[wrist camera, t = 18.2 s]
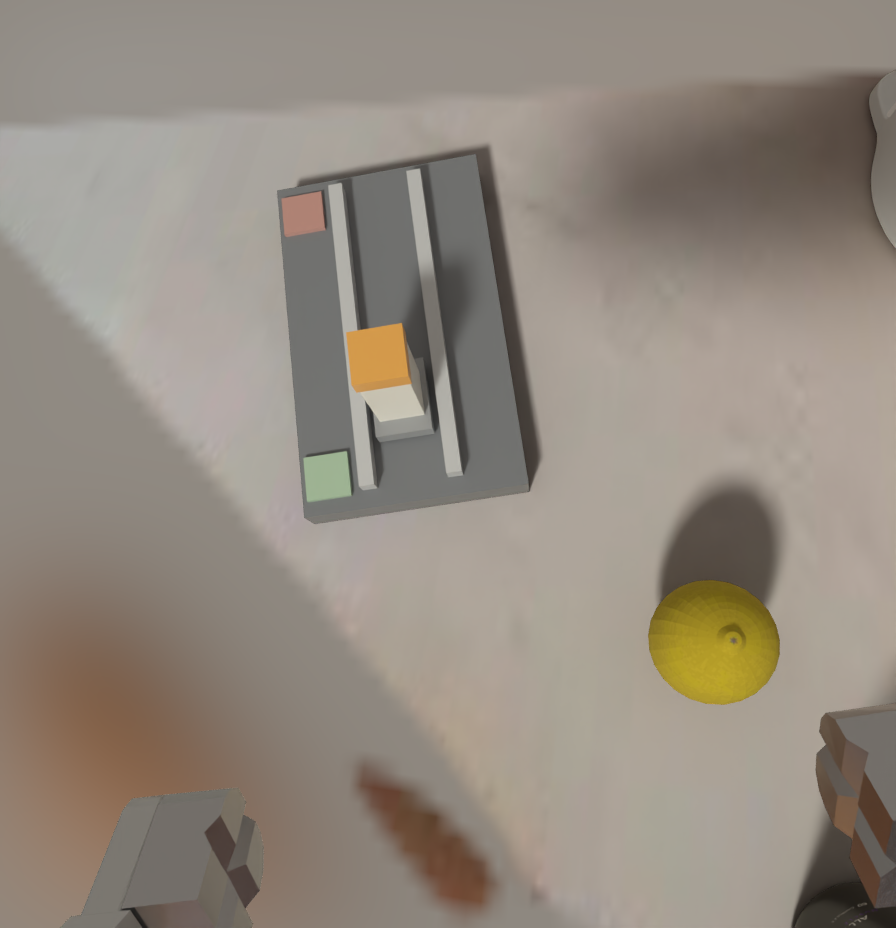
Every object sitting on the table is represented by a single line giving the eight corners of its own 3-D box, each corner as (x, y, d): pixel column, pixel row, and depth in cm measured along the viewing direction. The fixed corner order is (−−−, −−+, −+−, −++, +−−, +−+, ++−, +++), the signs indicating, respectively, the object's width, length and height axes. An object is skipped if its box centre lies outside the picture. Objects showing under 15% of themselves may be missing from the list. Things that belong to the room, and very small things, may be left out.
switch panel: (529, 491, 41) (528, 479, 39) (314, 524, 42) (298, 514, 39) (478, 174, 46) (474, 143, 44) (287, 209, 47) (271, 180, 44)
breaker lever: (434, 433, 40) (414, 390, 34) (379, 442, 41) (348, 400, 34) (425, 364, 42) (404, 308, 35) (371, 373, 42) (340, 319, 35)
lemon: (620, 665, 39) (641, 669, 31) (665, 568, 40) (697, 548, 32) (723, 720, 38) (772, 737, 30) (768, 618, 39) (826, 610, 31)
